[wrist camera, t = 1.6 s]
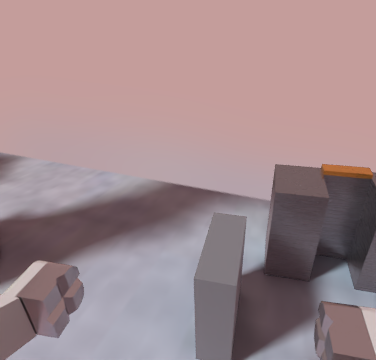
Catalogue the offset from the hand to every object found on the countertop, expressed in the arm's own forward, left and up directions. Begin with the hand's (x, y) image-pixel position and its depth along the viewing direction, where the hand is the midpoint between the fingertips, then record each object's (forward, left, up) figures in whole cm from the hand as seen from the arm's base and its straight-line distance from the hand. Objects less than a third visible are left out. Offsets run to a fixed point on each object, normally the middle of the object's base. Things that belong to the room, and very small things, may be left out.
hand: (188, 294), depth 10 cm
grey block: (0, +12, -18) cm, 22 cm away
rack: (+11, +22, -18) cm, 30 cm away
